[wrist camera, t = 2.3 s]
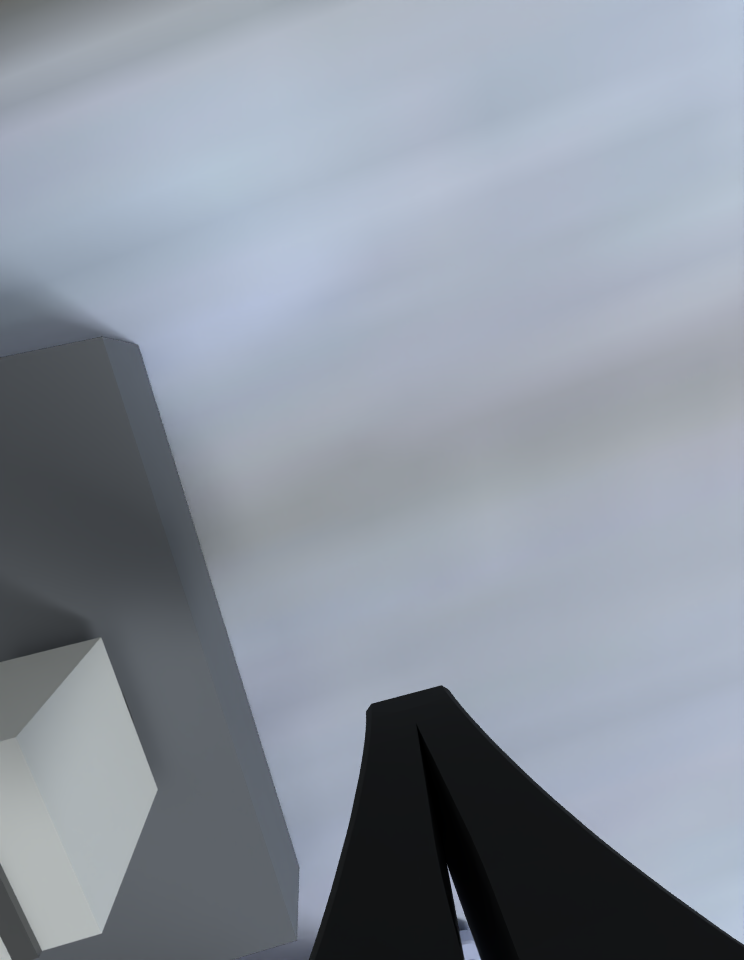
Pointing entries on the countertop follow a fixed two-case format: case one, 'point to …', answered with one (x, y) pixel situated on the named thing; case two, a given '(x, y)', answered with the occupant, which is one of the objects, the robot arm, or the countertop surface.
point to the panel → (141, 650)
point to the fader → (65, 796)
